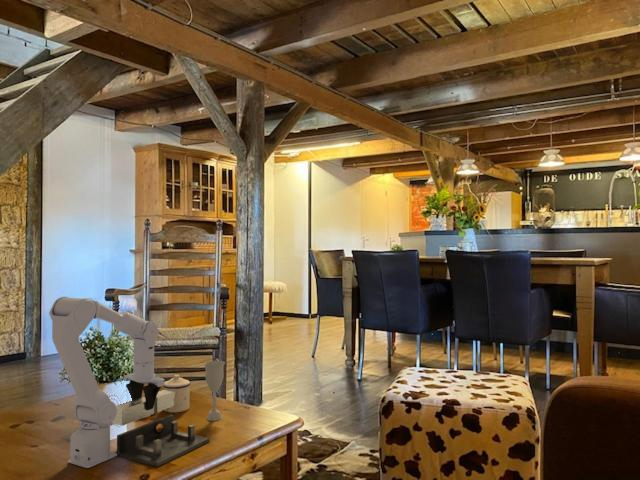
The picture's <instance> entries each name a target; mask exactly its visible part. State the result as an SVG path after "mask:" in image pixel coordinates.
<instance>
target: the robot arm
mask: <svg viewBox="0 0 640 480" xmlns="http://www.w3.org/2000/svg"><path fill="white" fill-rule="evenodd" d="M48 314H49V317H50V318H51V322H52V323H51V324H52V325H51V326H52V328H51V329H52V331H51V336H52V337H51V339H52V343H53V345H54V346H55V349H56V351H57V354H58V356H59V358H60V361H61V363H62V365H63V368H64V369H65V370H64V371H65V372H66V374H67V376H68V379H69V381H70V383H71V386H72V388H73V389H74V392H75V395H76V396H75V398H74V399H73V401H72V403H73V406H74V417H75V419H76V420H77V421H79V422H78V423H79V426H80V428H78V429H77V430H76V431H74V432H72V434H71V435H70V439H69V459H68V460H67V463H70V464H73V465H75V466H78V467H82V468H85V469H90V468H92V467H94V466H96V465H99V464H101V463H104V462H106V461H108V460H111V459H113V458H115V457H118V456H117V452H116V453H115V452H112V451H111V425H113V424H112V422H113V420H114V419H115V417H116V413H117V408H116V406H117V404H116V403H115V402H113V401H112V400H111V399H110V397H109V395H108V394H107V393H106V392H104V391H103V390H102V389H100V387H99V385H98V382H97V380H96V377H95V376H94V373H93V370H92V368H91V365H90V363H89V361H88V358H87V356H86V354H85V351H84V348H83V347H82V344H81V341H80V339H79V337H80V336H81V335H82V334H83V333H84V331H86V329H87V328H88V326H89V325H90V324H91V322H92V321H93V320H94V319H95V320H96V319H98V320H101V321H104V322H107V323H109V324H112V326H113V328H114V330H116V331H117V332H120V333H122V334H125V335H127V336H129V337H130V339H131V340H133V373H130V372H129V373H130V374H128V373H126V374H127V375H124V374H123V381H124V382H128V383H127V384H125V388H126V390H127V391H129V393H130V395H131V398H132V400H135V399H138V398H141V397H142V395H143V394H145V402H146V410H150V409H153V407H154V403H155V399H156V396H157V394H158V392H159V391H161V388H162V387H163V386H164V383H165V378H162V377H159V376H157V374H156V373H155V346H156V344H157V341H156V340H157V338H158V336H159V333H160V330H159V328H158V325H156V323H155V322H154V321H150V320H146V319H145V317H143V316H138V315H135V314H134V312H133V311H131V310H125V311H120V312H119V311H116V310H114V309H112V308H110V307H108V306H106V305H104V304H103V303H100V302H99V301H97V300H93V299H91V298H87V297H85V298H79V297H78V298H77V297H69V296H60V297H58V298H56V299H55V301H54V302H53V304H52V306H51V308H50V310H49V312H48ZM145 384H146V385H145Z"/></svg>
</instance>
